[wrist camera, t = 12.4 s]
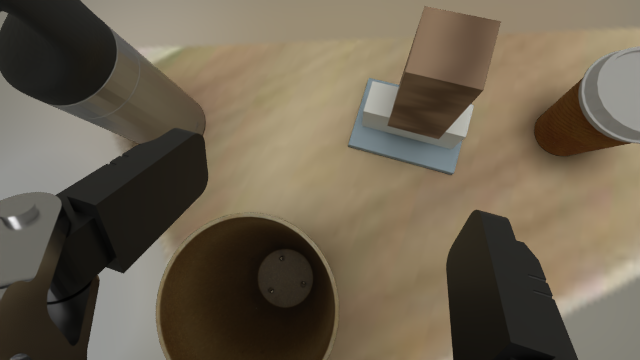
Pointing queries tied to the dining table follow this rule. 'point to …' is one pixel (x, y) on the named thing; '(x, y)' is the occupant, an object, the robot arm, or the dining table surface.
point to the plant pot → (247, 294)
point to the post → (443, 71)
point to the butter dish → (404, 133)
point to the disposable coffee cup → (596, 108)
